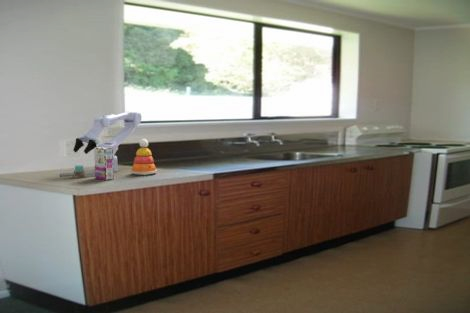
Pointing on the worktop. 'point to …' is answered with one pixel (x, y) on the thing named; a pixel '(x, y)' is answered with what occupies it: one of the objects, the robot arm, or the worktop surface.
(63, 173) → the coaster
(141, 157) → the stacking toy
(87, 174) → the rod
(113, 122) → the robot arm
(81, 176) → the channel
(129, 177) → the worktop surface
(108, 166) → the candy bar box
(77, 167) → the block
